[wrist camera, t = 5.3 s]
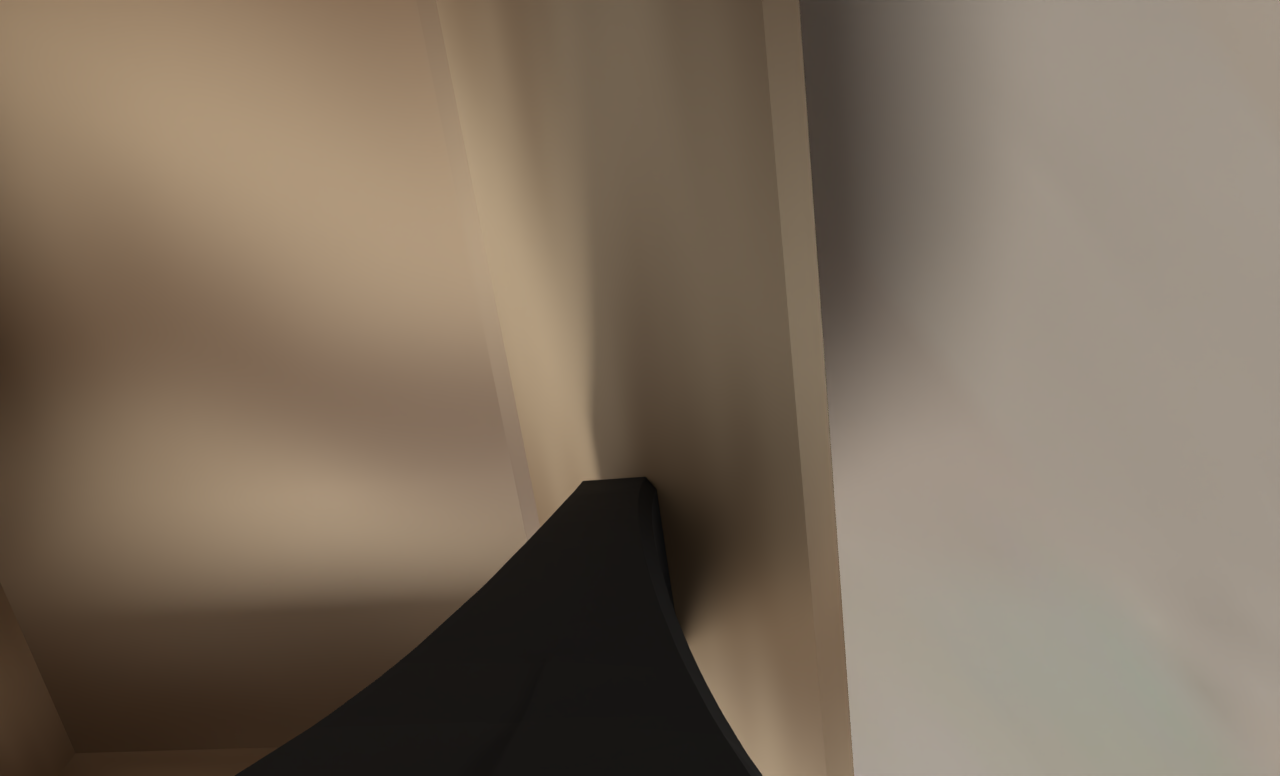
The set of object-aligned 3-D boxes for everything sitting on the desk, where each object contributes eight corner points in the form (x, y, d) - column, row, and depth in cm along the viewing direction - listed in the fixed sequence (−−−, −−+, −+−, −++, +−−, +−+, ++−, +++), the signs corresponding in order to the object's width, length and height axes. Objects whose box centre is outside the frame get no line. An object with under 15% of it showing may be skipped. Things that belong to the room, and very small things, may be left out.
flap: (650, 969, 16) (882, 1180, 13) (630, 987, 15) (863, 1205, 13) (418, -271, 9) (771, -404, 7) (382, -270, 9) (727, -408, 6)
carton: (674, 759, 20) (650, 983, 16) (75, 776, 22) (-81, 980, 18) (508, -307, 13) (396, -380, 9) (-340, -158, 15) (-741, -166, 11)
